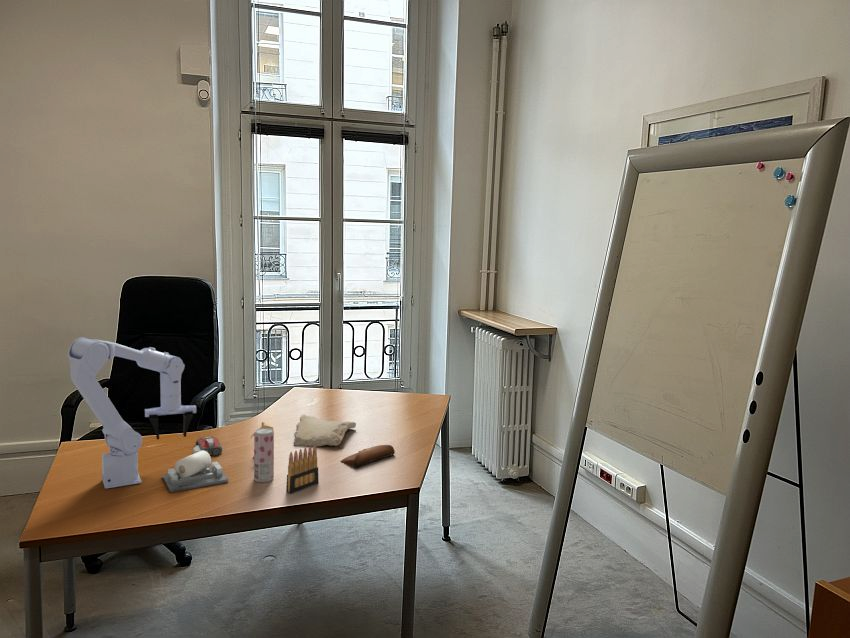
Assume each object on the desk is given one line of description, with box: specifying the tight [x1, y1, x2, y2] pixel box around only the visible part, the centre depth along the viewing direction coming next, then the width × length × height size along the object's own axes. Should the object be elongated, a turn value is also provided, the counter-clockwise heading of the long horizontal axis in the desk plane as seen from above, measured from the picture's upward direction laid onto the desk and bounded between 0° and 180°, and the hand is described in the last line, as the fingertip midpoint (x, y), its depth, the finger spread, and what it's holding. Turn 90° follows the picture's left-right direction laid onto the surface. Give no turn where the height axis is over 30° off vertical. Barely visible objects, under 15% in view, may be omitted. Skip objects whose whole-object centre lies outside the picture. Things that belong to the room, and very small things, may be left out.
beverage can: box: [253, 428, 275, 483], centre depth 188 cm, size 6×6×15 cm
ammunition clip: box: [285, 445, 320, 494], centre depth 183 cm, size 11×2×12 cm, turn 141°
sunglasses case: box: [339, 444, 396, 469], centre depth 208 cm, size 18×7×7 cm
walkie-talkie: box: [192, 436, 223, 456], centre depth 208 cm, size 9×4×20 cm
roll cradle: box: [162, 461, 229, 493], centre depth 186 cm, size 16×12×4 cm
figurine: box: [250, 421, 275, 439], centre depth 206 cm, size 8×6×12 cm
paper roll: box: [174, 450, 212, 479], centre depth 186 cm, size 9×6×6 cm, turn 158°
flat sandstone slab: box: [293, 414, 357, 448], centre depth 229 cm, size 24×8×20 cm
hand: (171, 437), depth 194 cm, fingers open, 7 cm apart
